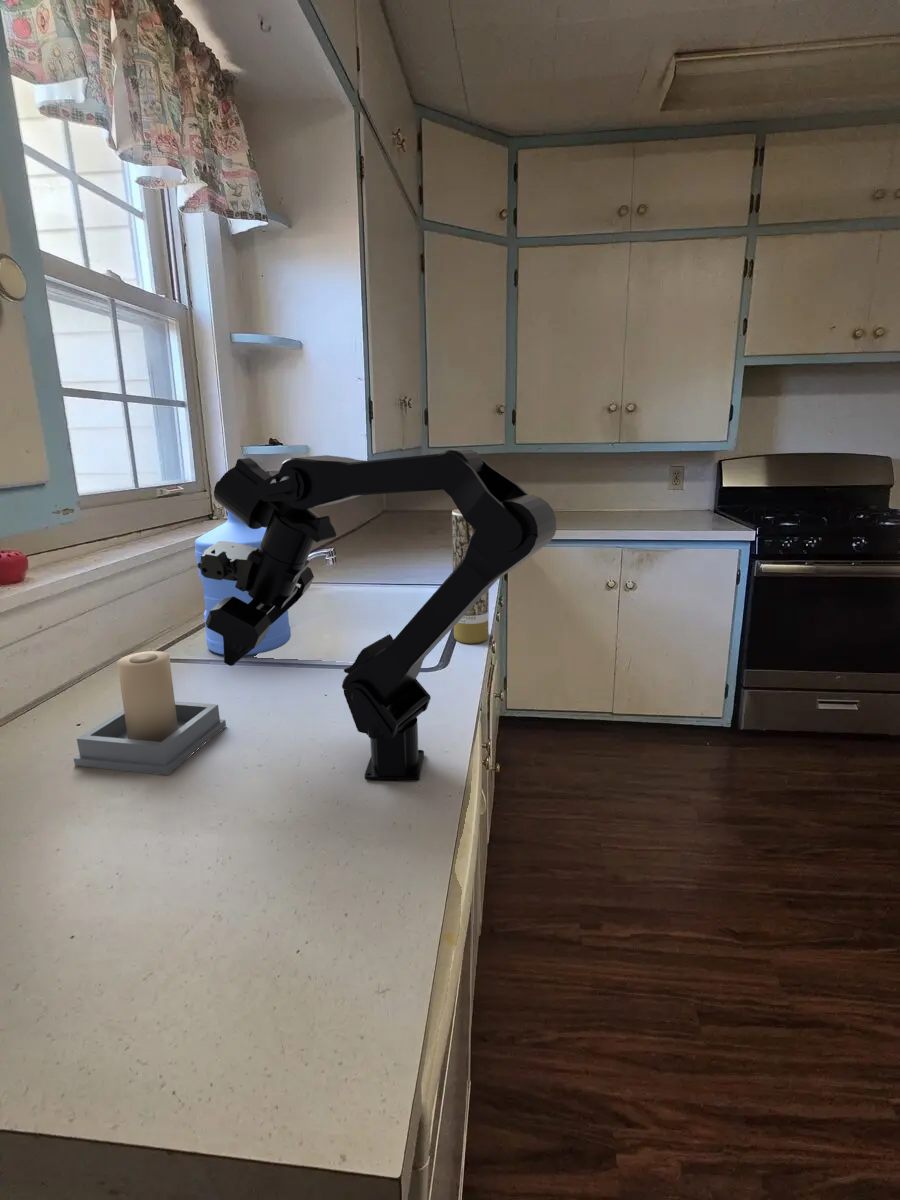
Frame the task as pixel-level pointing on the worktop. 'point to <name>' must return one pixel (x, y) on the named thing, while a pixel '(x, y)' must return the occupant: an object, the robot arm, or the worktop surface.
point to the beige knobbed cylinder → (148, 695)
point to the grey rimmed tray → (149, 742)
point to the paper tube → (476, 618)
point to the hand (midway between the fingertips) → (244, 646)
